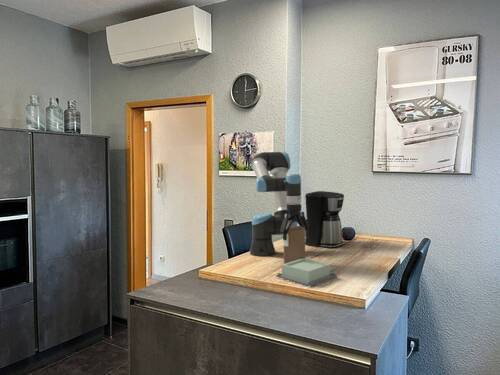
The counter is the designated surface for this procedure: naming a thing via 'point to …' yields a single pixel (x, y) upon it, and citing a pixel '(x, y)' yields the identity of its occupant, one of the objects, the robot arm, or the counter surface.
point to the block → (295, 244)
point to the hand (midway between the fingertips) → (294, 244)
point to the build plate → (306, 272)
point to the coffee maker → (324, 219)
